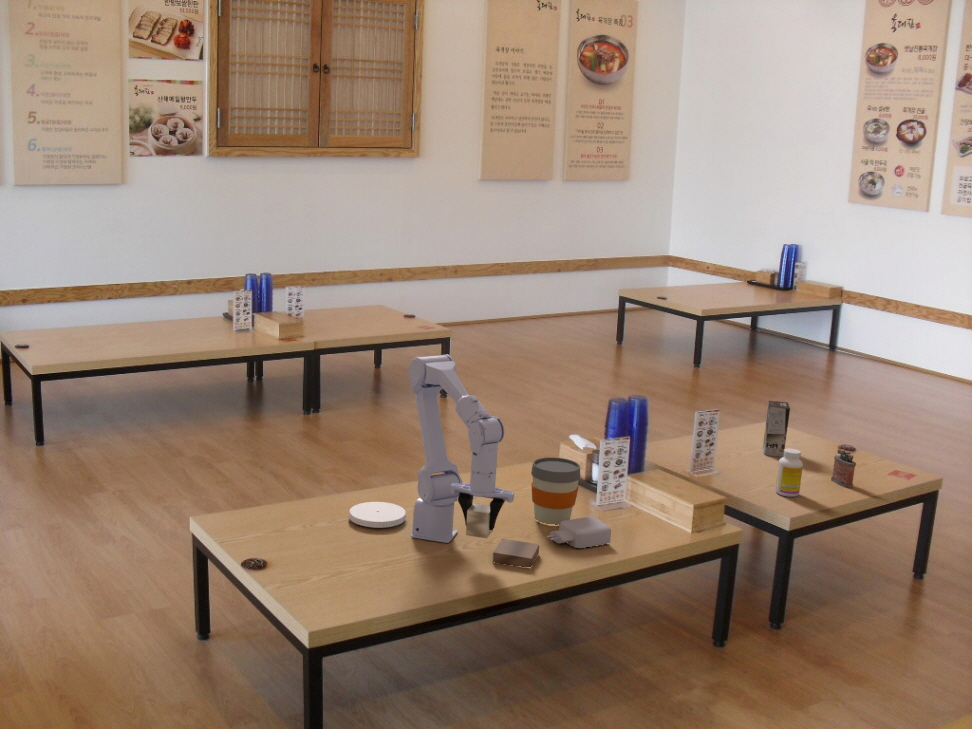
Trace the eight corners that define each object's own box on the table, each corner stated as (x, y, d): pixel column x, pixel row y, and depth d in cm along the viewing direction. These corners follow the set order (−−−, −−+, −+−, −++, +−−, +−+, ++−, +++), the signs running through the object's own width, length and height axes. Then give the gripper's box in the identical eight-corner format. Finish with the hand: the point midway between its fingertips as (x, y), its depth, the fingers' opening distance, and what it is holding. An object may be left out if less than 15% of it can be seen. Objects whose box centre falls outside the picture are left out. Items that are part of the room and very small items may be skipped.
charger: (538, 540, 266) (588, 532, 273) (558, 554, 258) (610, 546, 265) (539, 522, 265) (590, 514, 272) (560, 536, 257) (611, 527, 264)
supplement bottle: (803, 497, 310) (809, 454, 307) (783, 498, 308) (788, 454, 305) (790, 489, 316) (796, 447, 313) (770, 490, 314) (776, 447, 311)
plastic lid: (376, 536, 262) (376, 526, 262) (337, 519, 271) (337, 510, 270) (416, 522, 273) (417, 512, 272) (378, 507, 281) (378, 497, 281)
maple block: (465, 535, 247) (467, 510, 246) (472, 527, 252) (473, 503, 251) (486, 538, 246) (488, 513, 245) (492, 531, 251) (494, 506, 249)
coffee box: (784, 457, 347) (790, 408, 343) (763, 455, 348) (769, 406, 344) (782, 449, 355) (788, 401, 352) (762, 447, 356) (768, 399, 353)
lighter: (855, 487, 321) (860, 455, 319) (846, 488, 320) (850, 456, 318) (837, 478, 328) (841, 447, 326) (828, 479, 327) (832, 447, 325)
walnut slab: (492, 564, 250) (493, 552, 250) (501, 550, 259) (502, 538, 258) (530, 570, 248) (531, 558, 248) (538, 556, 257) (539, 544, 256)
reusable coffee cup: (536, 530, 272) (540, 473, 268) (521, 512, 283) (525, 457, 280) (583, 528, 275) (588, 471, 272) (566, 510, 287) (571, 456, 284)
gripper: (447, 470, 244) (444, 527, 247) (510, 480, 240) (506, 537, 243) (456, 461, 250) (453, 517, 253) (517, 470, 247) (513, 527, 250)
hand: (479, 526), depth 249 cm, fingers closed on maple block, 5 cm apart
